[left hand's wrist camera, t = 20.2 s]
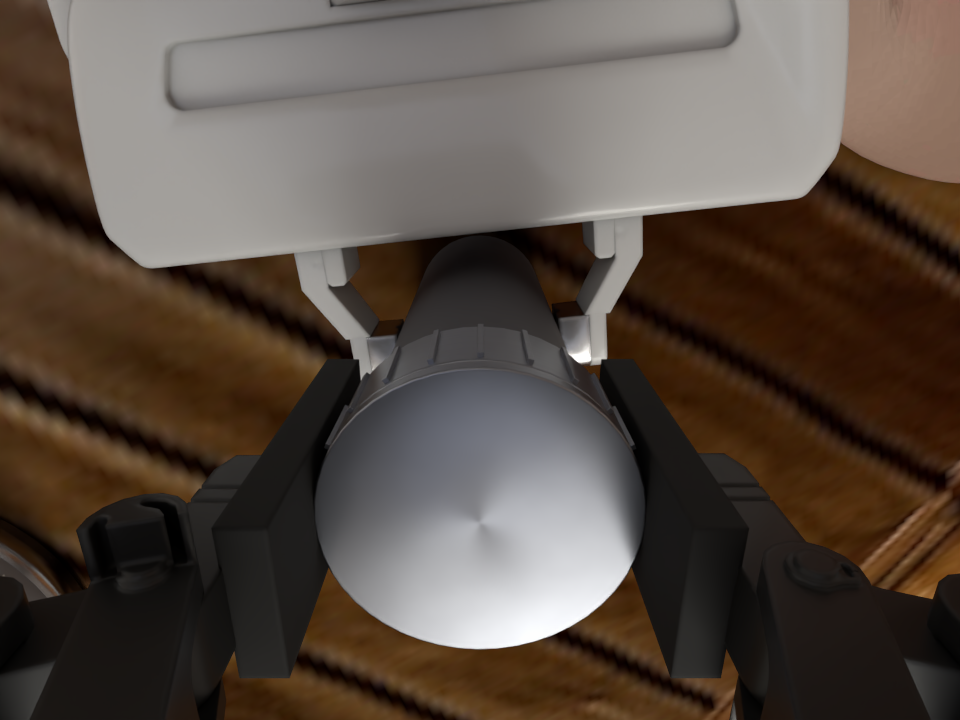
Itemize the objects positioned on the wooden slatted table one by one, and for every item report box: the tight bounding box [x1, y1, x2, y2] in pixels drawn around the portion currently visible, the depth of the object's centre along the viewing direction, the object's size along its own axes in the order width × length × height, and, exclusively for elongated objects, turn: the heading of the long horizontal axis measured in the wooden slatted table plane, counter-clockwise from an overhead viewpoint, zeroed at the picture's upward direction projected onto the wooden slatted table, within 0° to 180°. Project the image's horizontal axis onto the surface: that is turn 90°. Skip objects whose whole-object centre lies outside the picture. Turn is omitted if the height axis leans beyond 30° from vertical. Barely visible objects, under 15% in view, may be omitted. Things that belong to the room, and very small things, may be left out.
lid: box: [313, 324, 647, 649], centre depth 11 cm, size 6×6×2 cm
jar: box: [392, 235, 568, 354], centre depth 18 cm, size 5×5×15 cm
